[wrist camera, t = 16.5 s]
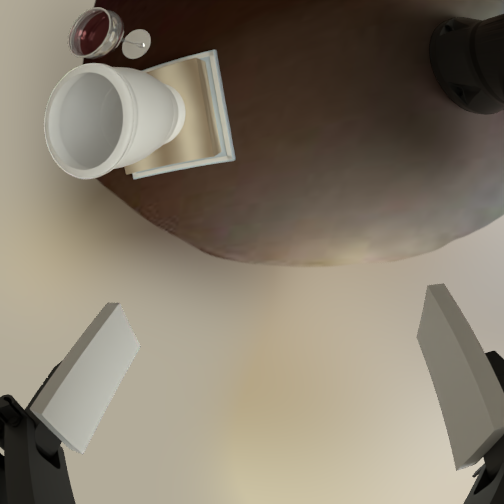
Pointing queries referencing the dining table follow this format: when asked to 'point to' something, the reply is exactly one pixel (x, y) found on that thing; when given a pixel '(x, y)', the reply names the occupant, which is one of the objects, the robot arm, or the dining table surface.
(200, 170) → the dining table surface
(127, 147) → the jar
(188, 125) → the plinth
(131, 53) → the wineglass
